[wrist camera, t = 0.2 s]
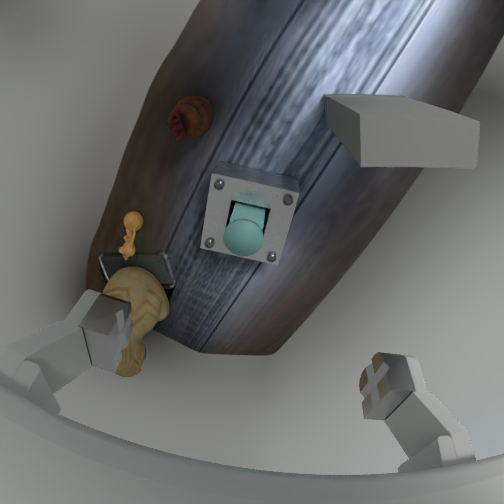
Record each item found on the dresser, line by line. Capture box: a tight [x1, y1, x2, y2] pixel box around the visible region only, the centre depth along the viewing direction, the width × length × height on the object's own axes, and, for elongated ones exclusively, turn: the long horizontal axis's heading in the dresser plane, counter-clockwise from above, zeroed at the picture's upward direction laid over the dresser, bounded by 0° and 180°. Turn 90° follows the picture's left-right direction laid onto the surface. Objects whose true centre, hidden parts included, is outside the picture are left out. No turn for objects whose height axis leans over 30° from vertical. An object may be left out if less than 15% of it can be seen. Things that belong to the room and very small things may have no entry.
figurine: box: [119, 211, 143, 260], centre depth 57 cm, size 8×6×12 cm
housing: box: [200, 161, 300, 265], centre depth 56 cm, size 14×14×8 cm
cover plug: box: [223, 201, 266, 256], centre depth 53 cm, size 6×6×13 cm
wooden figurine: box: [168, 96, 213, 142], centre depth 44 cm, size 7×6×15 cm
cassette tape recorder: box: [324, 94, 480, 169], centre depth 37 cm, size 14×6×25 cm, turn 97°
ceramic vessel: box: [103, 267, 169, 377], centre depth 61 cm, size 17×20×25 cm
